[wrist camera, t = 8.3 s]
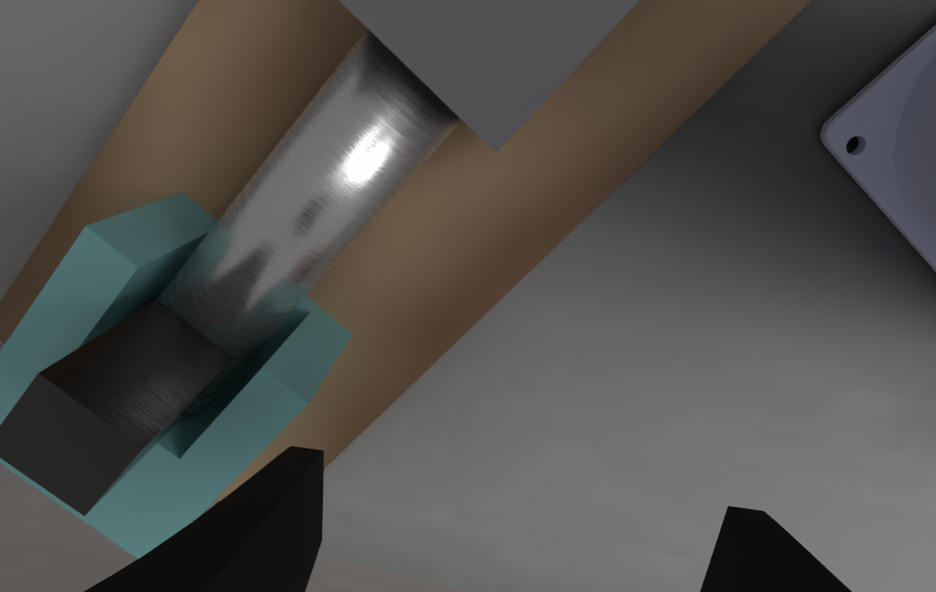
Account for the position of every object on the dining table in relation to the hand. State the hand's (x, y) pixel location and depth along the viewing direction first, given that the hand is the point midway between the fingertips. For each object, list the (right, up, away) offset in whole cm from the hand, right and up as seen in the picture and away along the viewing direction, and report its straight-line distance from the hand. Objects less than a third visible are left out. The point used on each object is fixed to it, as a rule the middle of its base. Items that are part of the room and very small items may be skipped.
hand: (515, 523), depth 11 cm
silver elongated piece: (-5, +7, +6) cm, 11 cm away
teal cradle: (-10, +2, +9) cm, 14 cm away
